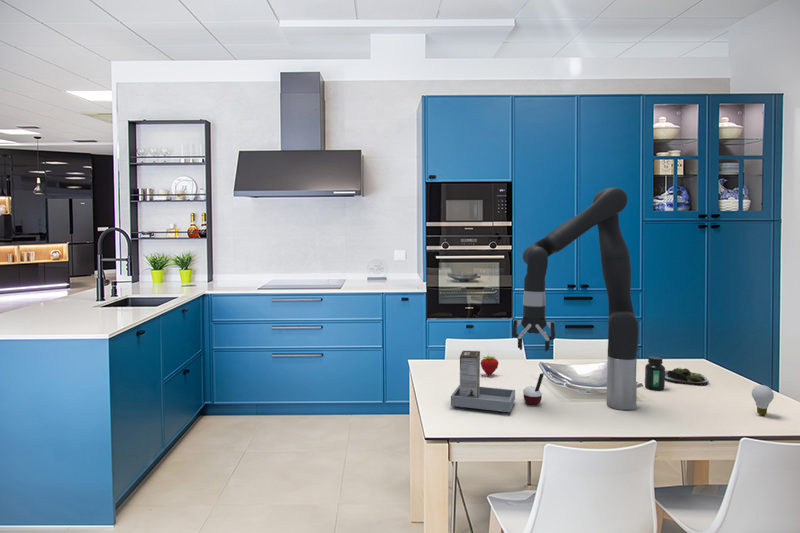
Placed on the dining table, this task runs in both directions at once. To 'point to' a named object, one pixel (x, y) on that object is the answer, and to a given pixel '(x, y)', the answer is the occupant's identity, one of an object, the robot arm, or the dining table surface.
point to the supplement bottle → (655, 374)
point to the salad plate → (685, 377)
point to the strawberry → (489, 365)
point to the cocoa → (533, 393)
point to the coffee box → (470, 374)
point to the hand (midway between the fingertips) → (533, 350)
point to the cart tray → (486, 399)
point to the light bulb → (762, 398)
